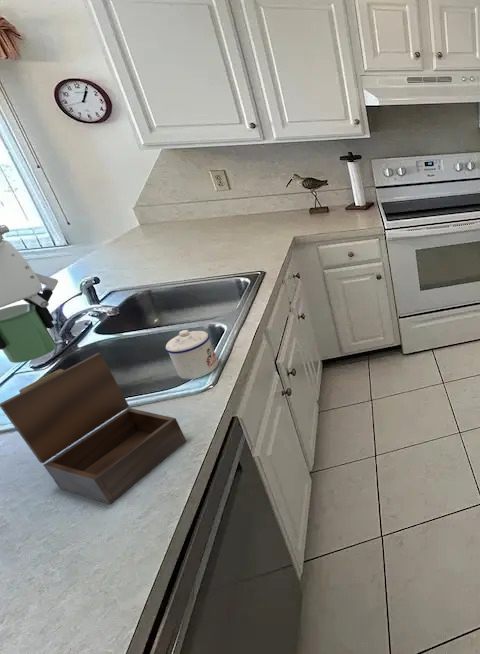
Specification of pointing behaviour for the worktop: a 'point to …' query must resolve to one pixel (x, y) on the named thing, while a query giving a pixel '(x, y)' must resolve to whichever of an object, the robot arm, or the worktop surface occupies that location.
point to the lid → (65, 406)
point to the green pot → (24, 333)
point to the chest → (116, 455)
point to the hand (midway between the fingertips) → (23, 336)
